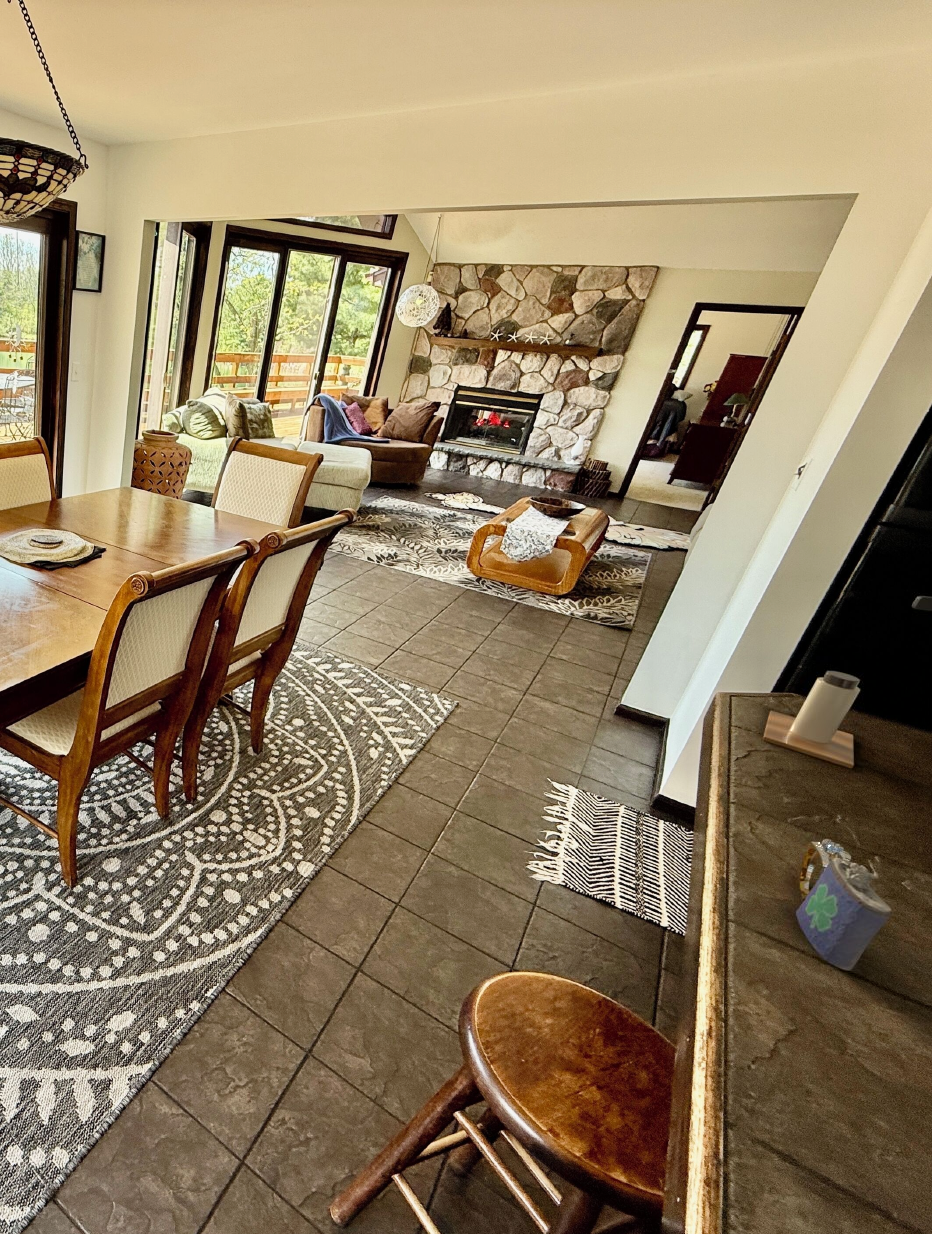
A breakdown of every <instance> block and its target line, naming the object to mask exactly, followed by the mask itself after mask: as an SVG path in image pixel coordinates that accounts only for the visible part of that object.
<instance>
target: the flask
mask: <svg viewBox="0 0 932 1234" xmlns="http://www.w3.org/2000/svg"><path fill="white" fill-rule="evenodd" d="M841 858H842V857H838V858H833V859H829V864H828V866H827V867H826V869H825V870H824V872H823V873H822V874H821V873H820V875H821V876H820V875H819V877H820V878H819V877H818V880H817V881H816V883H815V884H814V886H813V887H812V888H811V890H809V891H810V893H809V894H808V895H807V897H806V899H805V900H804V899H803V900H804V901H802V903H801V904H800V906H799V907H798V909H796V911H795V915H796V918H797V921H798V925H799V926H800V928H801V930H802V932H803V934H804V935H805V938H806V939H807V940H808V942H809V943H810V944H811V946H812V947H813V948H814V949H815V950H816V952H817V953H818V954H819V956H820V957H822V958H823V959H824V960H825V962H827V963H829V964H831V965H832V966H834V967H836V968H838V969H841V970H843V971H852V969H854V968H853V967H854V966H856V964H857V962H858V961H859V960H860V958H861V956H862V954H863V953H864V952H865V950H866V948H867V947H868V946H869V945H870V944H871V942H872V940H873V939H874V938H875V936H876V935H877V934H878V932H879V931H880V930H881V928H882V927H883V925H884V924H885V923H886V922H887V919H889V917H890V916H892V915H893V909H892V908H891V906H889V904H887V903H886V902H885V900H883V899H882V898H881V896H879V894H878V893H877V892H875V890H874V888H872V886H871V885H870V884H872V882H873V881H872V880H877V879H879V873H878V872H874V873H872V872H870V871H869V869H868V868H867V867H865V866H864V865H859V864H858V863H857V862H856V863H855V862H852V861H847V860H844V859H841Z"/></svg>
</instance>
